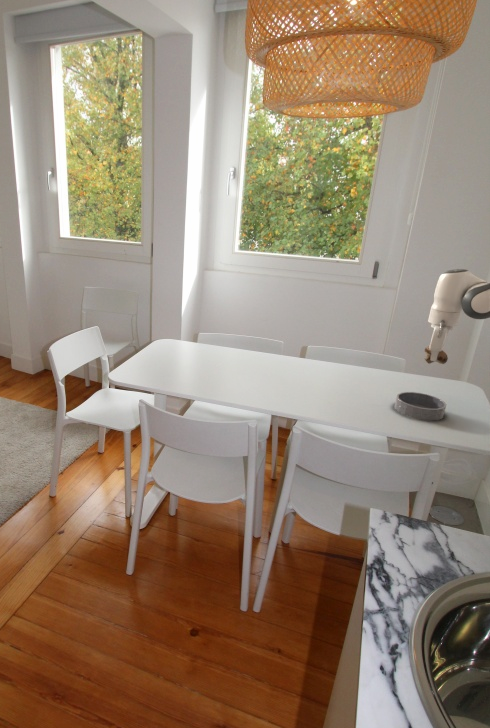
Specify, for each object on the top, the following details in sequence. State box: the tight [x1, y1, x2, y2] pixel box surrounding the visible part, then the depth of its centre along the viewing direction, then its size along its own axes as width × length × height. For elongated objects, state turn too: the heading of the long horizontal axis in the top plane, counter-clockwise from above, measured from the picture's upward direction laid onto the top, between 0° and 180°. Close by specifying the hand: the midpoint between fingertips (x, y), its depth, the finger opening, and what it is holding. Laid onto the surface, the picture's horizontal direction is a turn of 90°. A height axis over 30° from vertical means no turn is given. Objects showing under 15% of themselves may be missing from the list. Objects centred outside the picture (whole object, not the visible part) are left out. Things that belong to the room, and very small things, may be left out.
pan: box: [394, 391, 447, 421], centre depth 164 cm, size 15×15×4 cm
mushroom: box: [424, 345, 449, 365], centre depth 162 cm, size 8×8×6 cm
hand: (434, 357), depth 163 cm, fingers closed on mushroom, 7 cm apart
